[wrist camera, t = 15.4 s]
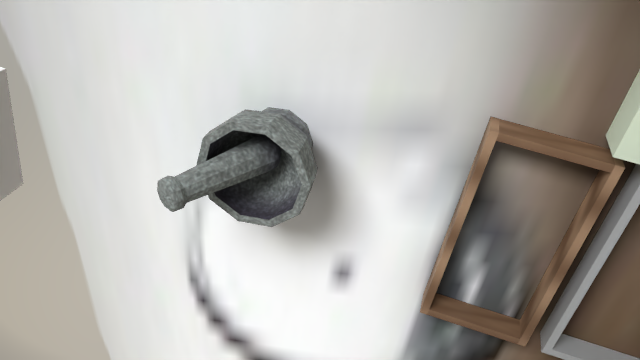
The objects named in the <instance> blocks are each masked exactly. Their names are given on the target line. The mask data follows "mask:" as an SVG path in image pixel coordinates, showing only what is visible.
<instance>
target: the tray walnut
mask: <svg viewBox="0 0 640 360" xmlns="http://www.w3.org/2000/svg"><path fill="white" fill-rule="evenodd" d="M496 141H499V142H502V143H506V144H509V145H513V146H517V147H520V148H524V149H527V150H531V151H534V152H538V153H542V154H545V155H549V156H552V157H556V158H559V159H563V160H567V161H570V162H574V163H577V164H581V165H585V166H588V167H592V168H595V169H599V172H598V174H597V176H596V178H595V180H594V181H593V183H592V185H591V187H590V189H589V191H588V193H587V195H586V196H585V198H584V200H583V202H582V204H581V206H580V208H579V210H578V212H577V213H576V215H575V217H574V219H573V221H572V223H571V225H570V227H569V228H568V230H567V232H566V234H565V236H564V238H563V240H562V242H561V243H560V245H559V247H558V249H557V251H556V253H555V255H554V257H553V259H552V260H551V262H550V264H549V266H548V268H547V270H546V272H545V274H544V275H543V277H542V279H541V281H540V283H539V285H538V287H537V289H536V291H535V292H534V294H533V296H532V298H531V300H530V302H529V304H528V306H527V307H526V309H525V311H524V313H523V315H522V317H521V319H520V320H518V319H515V318H512V317H509V316H506V315H503V314H499V313H496V312H493V311H490V310H487V309H484V308H481V307H478V306H475V305H471V304H468V303H465V302H462V301H459V300H456V299H453V298H450V297H447V296H444V295H440V294H437V293H436V291H437V288H438V286H439V283H440V281H441V278H442V276H443V273H444V271H445V268H446V266H447V263H448V261H449V258H450V256H451V253H452V251H453V248H454V245H455V243H456V240H457V238H458V235H459V233H460V230H461V228H462V225H463V223H464V220H465V218H466V215H467V213H468V210H469V208H470V205H471V202H472V200H473V197H474V195H475V192H476V190H477V187H478V185H479V182H480V180H481V177H482V175H483V172H484V170H485V167H486V165H487V162H488V159H489V157H490V154H491V152H492V149H493V147H494V144H495V142H496ZM624 169H625V165H624V163H623V160H622V159H618V158H614V157H612V153H611V150H610V149H607V148H603V147H600V146H596V145H592V144H589V143H585V142H582V141H578V140H574V139H571V138H567V137H563V136H560V135H556V134H552V133H549V132H545V131H541V130H538V129H534V128H530V127H527V126H523V125H520V124H516V123H512V122H509V121H505V120H501V119H498V118H494V117H490V120H489V122H488V125H487V128H486V130H485V133H484V136H483V138H482V141H481V143H480V146H479V149H478V151H477V154H476V157H475V159H474V162H473V165H472V167H471V170H470V172H469V175H468V178H467V180H466V183H465V186H464V188H463V191H462V194H461V196H460V199H459V202H458V204H457V207H456V209H455V212H454V215H453V217H452V220H451V223H450V225H449V228H448V231H447V233H446V236H445V238H444V241H443V244H442V246H441V249H440V252H439V254H438V257H437V260H436V262H435V265H434V267H433V270H432V273H431V275H430V278H429V281H428V283H427V286H426V289H425V291H424V294H423V299H422V304H421V310H420V312H421V313H424V314H427V315H430V316H433V317H436V318H439V319H442V320H445V321H448V322H451V323H454V324H457V325H461V326H464V327H467V328H470V329H473V330H476V331H479V332H482V333H485V334H488V335H491V336H494V337H497V338H500V339H503V340H506V341H509V342H512V343H515V344H519V345H522V346H526V344H527V342H528V341H529V339H530V337H531V335H532V333H533V332H534V330H535V328H536V326H537V325H538V323H539V321H540V319H541V317H542V316H543V314H544V312H545V310H546V308H547V307H548V305H549V303H550V301H551V300H552V298H553V296H554V294H555V292H556V291H557V289H558V287H559V285H560V283H561V282H562V280H563V278H564V276H565V275H566V273H567V271H568V269H569V267H570V266H571V264H572V262H573V260H574V259H575V257H576V255H577V253H578V251H579V250H580V248H581V246H582V244H583V242H584V241H585V239H586V237H587V235H588V234H589V232H590V230H591V228H592V226H593V225H594V223H595V221H596V219H597V217H598V216H599V214H600V212H601V210H602V209H603V207H604V205H605V203H606V201H607V200H608V198H609V196H610V194H611V192H612V191H613V189H614V187H615V185H616V184H617V182H618V180H619V178H620V176H621V175H622V173H623V171H624Z"/></svg>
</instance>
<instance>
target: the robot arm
mask: <svg viewBox="0 0 640 360" xmlns="http://www.w3.org/2000/svg"><path fill="white" fill-rule="evenodd" d="M22 184H23V179H22V173H21V165H20V159H19V152H18V146H17V139H16V133H15V126H14V119H13V113H12V106H11V100H10V94H9V87H8V80H7V73H6V69H5V68H2V67H0V201H1V200H2V199H3V198H5V197H6V196H7V195H9V194H10V193H11V192H13V191H14V190H16V189H17V188H18V187H20V186H21V185H22Z"/></svg>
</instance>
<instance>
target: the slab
mask: <svg viewBox="0 0 640 360" xmlns="http://www.w3.org/2000/svg"><path fill="white" fill-rule="evenodd" d="M606 138H607V141H608V144H609V147H610V150H611V153H612V157H614V158H618V159H622V160H625V161H629V162H633V163H636V164H640V70H639V72H638V74H637V76H636V78H635V80H634V82H633V84H632V85H631V87H630V89H629V91H628V93H627V95H626V97H625V99H624V101H623V103H622V105H621V107H620V109H619V111H618V113H617V114H616V116H615V118H614V120H613V122H612V124H611V126H610V128H609V130H608V132H607V134H606Z"/></svg>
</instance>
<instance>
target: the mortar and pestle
mask: <svg viewBox="0 0 640 360" xmlns="http://www.w3.org/2000/svg"><path fill="white" fill-rule="evenodd" d="M312 145H313V142H312V139H311V136H310V133H309V130H308V127H307V124H306V123H305V122H303V121H302V120H301V119H300V118H299V117H297V116H296V115H295V114H294V113H292V112H291V111H290V110H285V109H277V108H270V107H268V108H267V109H265V110H263V111H262V112H260V111H252V110H244V111H242V112H241V113H239V114H237V115H236V116H234V117H232V118H231V119H229V120H227V121H226V122H224V123H222V124H221V125H219V126H217V127H216V128H214V129H213V130H211V131H210V132H209V133H208V134H207V135H206V136H205V137H204V138H203V140H202V144H201V149H200V153H199V157H198V161H197V166H195V167H193V168H191V169H189V170H187V171H185V172H183V173H181V174H179V175H177V176H175V177H172V176H167V177H165V178H162V179H161V180H159V181H158V188H157V191H158V194H159V197H160V200H161V201H162V203H163V204H164V206H165V207H166V208H168V209H169V210H170V211H172V212H174V211H177V210H179V209H182V208H184V206H185V204H186V203H187V202H190V201H192V200H195V199H198V198H200V197H203V196H206V195H208V196H209V199H210V200H212V201H213V202H214V203H216V204H217V205H218V206H219V207H221V208H222V209H223V210H225V211H226V212H227V213H228V214H230V215H231V216H232V217H234V218H235V219H236V220H238V221H241V222H247V223H252V224H258V225H264V226H269V227H273V226H275V225H277V224H279V223H281V222H284V221H286V220H288V219H290V218H292V217H295V216H297V215H299V214H300V212H301V210H302V209H303V207H304V205H305V202H306V200H307V197H308V195H309V192H310V189H311V187H312V184H313V182H314V179H315V176H316V172H317V165H316V162H315V159H314V156H313V153H312V150H311V148H312Z"/></svg>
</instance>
